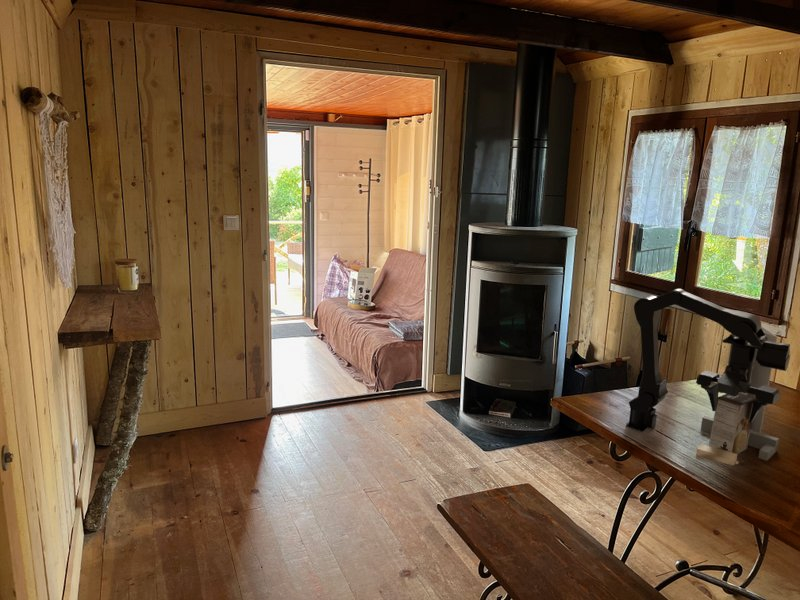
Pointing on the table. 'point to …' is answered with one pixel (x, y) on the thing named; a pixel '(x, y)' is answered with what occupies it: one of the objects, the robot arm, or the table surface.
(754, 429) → the brochure
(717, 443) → the coffee box
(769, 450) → the bracket
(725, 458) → the offcut upper
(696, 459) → the table surface
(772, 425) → the table surface
